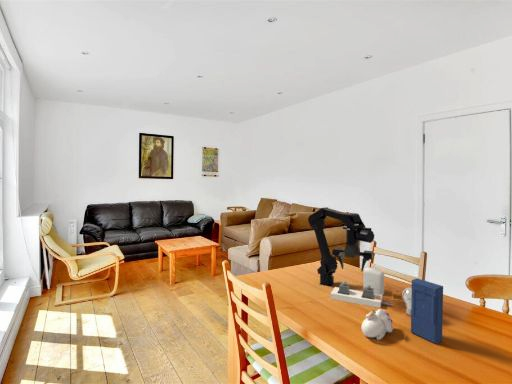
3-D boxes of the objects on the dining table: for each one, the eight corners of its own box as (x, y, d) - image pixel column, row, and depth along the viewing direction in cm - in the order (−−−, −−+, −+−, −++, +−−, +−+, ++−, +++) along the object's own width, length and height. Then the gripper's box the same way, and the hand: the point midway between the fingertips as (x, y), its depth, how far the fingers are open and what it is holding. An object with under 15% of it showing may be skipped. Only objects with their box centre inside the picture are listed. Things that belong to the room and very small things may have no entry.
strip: (330, 299, 138) (330, 292, 138) (335, 293, 146) (335, 285, 146) (390, 311, 125) (390, 302, 125) (391, 303, 133) (391, 295, 133)
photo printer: (361, 290, 149) (362, 267, 148) (366, 288, 151) (366, 265, 151) (381, 296, 141) (381, 271, 140) (385, 294, 143) (385, 270, 143)
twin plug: (339, 298, 138) (339, 282, 138) (341, 294, 142) (341, 279, 142) (347, 299, 136) (347, 283, 136) (349, 296, 140) (349, 281, 140)
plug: (363, 302, 133) (363, 286, 133) (364, 299, 137) (364, 283, 136) (372, 304, 131) (372, 287, 131) (373, 300, 135) (373, 284, 134)
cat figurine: (366, 316, 102) (388, 300, 111) (350, 319, 108) (372, 304, 117) (380, 344, 99) (402, 325, 108) (363, 346, 105) (385, 328, 114)
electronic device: (443, 340, 103) (444, 285, 102) (435, 344, 100) (436, 288, 99) (417, 328, 111) (418, 277, 110) (409, 332, 108) (410, 280, 107)
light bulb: (418, 313, 123) (419, 285, 123) (422, 321, 117) (422, 292, 116) (400, 311, 126) (401, 284, 125) (403, 318, 119) (403, 290, 118)
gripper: (329, 240, 139) (329, 272, 140) (370, 244, 130) (370, 278, 131) (334, 236, 149) (334, 265, 150) (373, 239, 140) (373, 271, 141)
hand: (352, 270), depth 143 cm, fingers open, 9 cm apart
